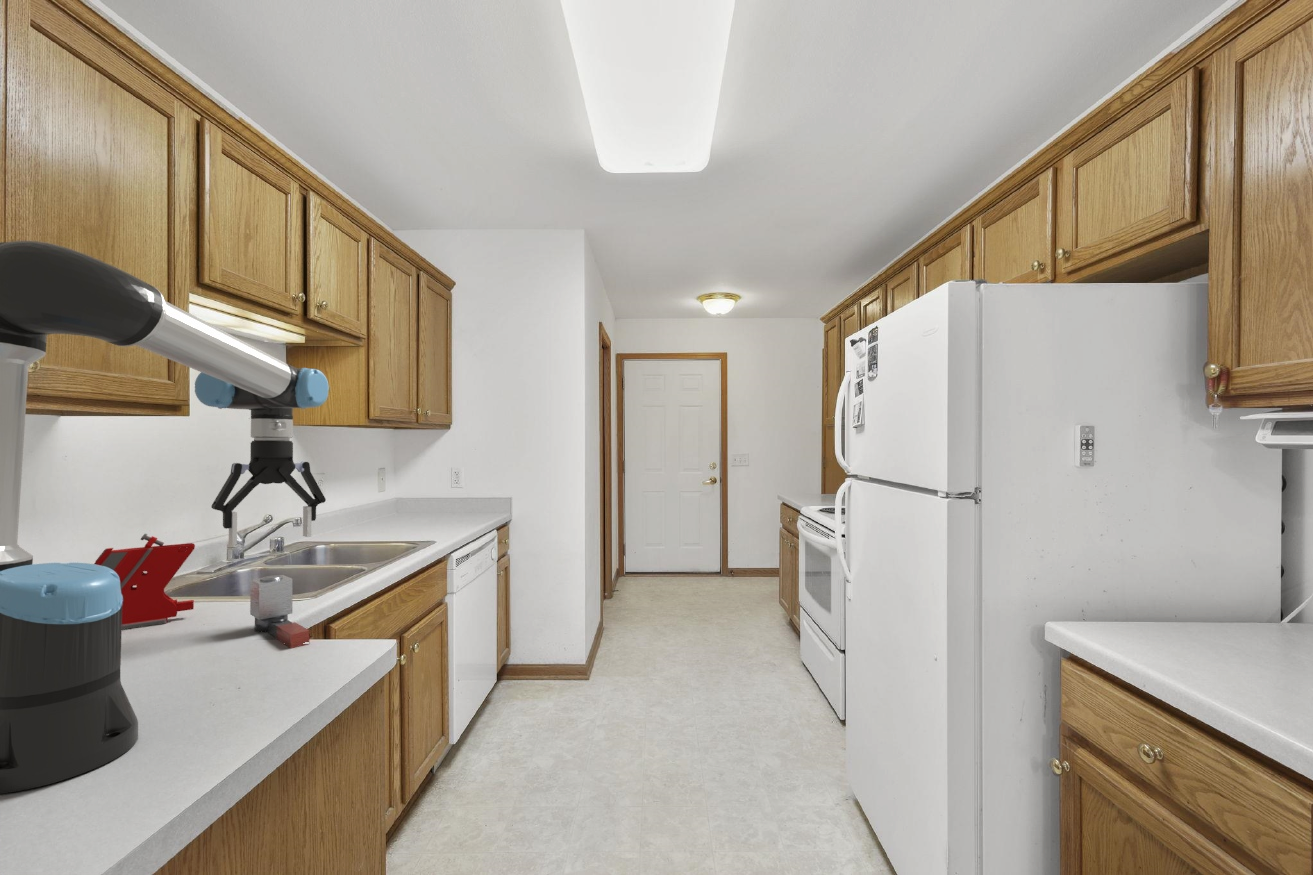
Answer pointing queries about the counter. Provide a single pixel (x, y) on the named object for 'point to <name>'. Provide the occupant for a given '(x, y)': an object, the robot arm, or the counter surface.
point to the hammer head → (270, 596)
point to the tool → (147, 580)
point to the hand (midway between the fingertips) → (271, 540)
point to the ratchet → (283, 630)
